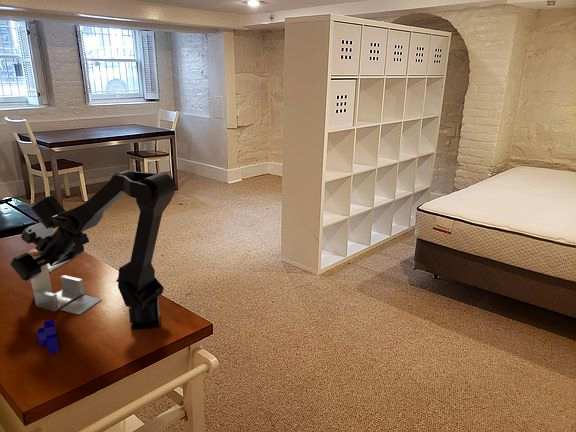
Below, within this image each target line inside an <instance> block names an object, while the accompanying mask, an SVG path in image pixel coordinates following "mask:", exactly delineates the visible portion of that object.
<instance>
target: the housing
mask: <svg viewBox="0 0 576 432" xmlns="http://www.w3.org/2000/svg"><path fill="white" fill-rule="evenodd" d="M60 283H61V290H58V291H57V292H52V293H51V292H47V291H43V290H39V289H37V290H35V291H33V290H32V293H33V292H34V294H33V298H34V303H35V307H36V308H37V307H38V308H42V309H45V310H49V311H53V312H57V311H58V310H61V309H62V308H64V307H65V306H67V305H69V304H70V303H72V302H73V301H75V300H77V299H78V298H80V297H82V296H83V295H85V291H84V281H83V279H82V278H79V277H73V276H70V275H64V274H63V275H60Z"/></svg>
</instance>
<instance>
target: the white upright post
mask: <svg viewBox="0 0 576 432" xmlns="http://www.w3.org/2000/svg"><path fill="white" fill-rule="evenodd" d="M28 253H29V254H30V255H31V256H32V257H33V258H34V259H36V258H38V257H41V255H40V251H39V252H38V251H37V250H36V249H35V248H32V249H30V250H28ZM43 262H44V261H43ZM38 264H39V263H38ZM41 271H42V272H41V273H40V274H39V275H38V276H36V277H34V278H32V279H30V283H31V287H32V293H33V295H34V292H33V291H35V290H37V289H39V290H43V291H47V292H51V293H53V291H52V286H51V285H52V284H51V278H50V272H49V271H48V265H47V264H46V265H44V266H42V267H41Z"/></svg>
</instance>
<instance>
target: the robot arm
mask: <svg viewBox="0 0 576 432" xmlns="http://www.w3.org/2000/svg"><path fill="white" fill-rule="evenodd" d="M176 189H177V187H176V182H175V181H174V179H173V178H172V176H171V175H170V174H168V173H166V172H159V173H155V172H145V171H144V172H141V171H135V170H130V169H126V170H122V171H120V172H116V173H114V174H113V175H112V176H111V178H110V179H109V180H108V181H107V182H106V183H105V184H104V185H102V186H101V187H100V188H99V189H98V190H97V191H96V192H95V193H94V194H93V195H92V196H91V197H90V198H88V200H86V201H85V202H84V203H82V204H81V205H77V206H76V207H73V208H71V209H69V210H66V209H65V208H64V206H62V205H61V204H60V203H59V201H58V199H57V198H56V197H55V196H54V195H53V194H51V195H47V196H45V197H44V199H42V200H40V201H39V202H37V203H36V204H34V205H33V206H32V207H31V209H30V210H31V212H32V213H33V214H34V215H35V216H36V217H37V219H38V220H39V222H38V223H35V224H33V225H30V226H29V225H28V227H27V228H24V230H23V231H22V232H21V237H20V238H21V241H23V242H25V243H27V244H28V245H29V244H34V245H35V247H34V249H36V250H37V251H38V252H39V251H40V255H41V257H38V258H36V259H34V258H33V257H32V256H31V255H30V254H29V252H24V253H21V254H20V255H17V256H14V257H13V258H12V260H10V266H11V268H13V270H14V271H15V272H16V273H17V274H18V276H19V279H20V280H21V281H26V282H28V281H31V279H32V278H34V277H36V276H38V275H39V274H40V273H41V272H42V271H41V267H42V266H44V265H46V264H48V263H49V265H50V266H54V265H57V264H59V263H62V262H65V261H68V260H69V261H71V260H72V258H73V259H75V258H77V257H78V256H80V255H81V254H83V253H84V251H85V245H87V244H88V243H90V239H89V237H88V234H87V233H85V231H87V230H89V229H92V228H94V227H97V226H98V225H99V223H100V221H101V220H102V218H103V215H104V213H105V211H106V210H107V209H109V208H110V207H111V206H112V205H113V204H114V203H115V202H116V201H118V200H119V199H120V197H122V196H123V195H124V194H126V195H127V196H129V197H130V198H134V199H135V201H136V204H137V207H138V209H139V214H138V215H139V216H138V222H137V225H136V231H135V236H134V241H133V244H132V245H133V246H132V250H131V256H130V261H128V262H127V263H125V264H124V265H122V266H119V269H118V276H117V279H116V283H117V287H118V291H119V293H120V295H121V298H122V301H123V302H124V305H125V307H128V314H129V315H128V316H129V323H130V324H131V330H139V329H149V328H158V327H159V326H160V321H161V312H160V304H159V303H160V302H159V296H161V295H163V293H164V290H165V288H164V286H163V285H162V283H161V282H160V281H159V280H158V279H157V278H156V277H155V276H156V275H155V272H156V270H155V268H154V266H153V264H152V261H153V256H154V253H155V252H154V251H155V248H156V242H157V240H158V235H159V230H160V226H161V222H162V216H163V213H164V212H165V210H166V209H167V207H168V205H170V204H171V201H172V199H173V197H174V195H175V192H176ZM53 229H56V230H55V231H54V230H53ZM70 259H71V260H70ZM43 261H44V262H43ZM69 261H68V262H69ZM38 263H39V264H38Z"/></svg>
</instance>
